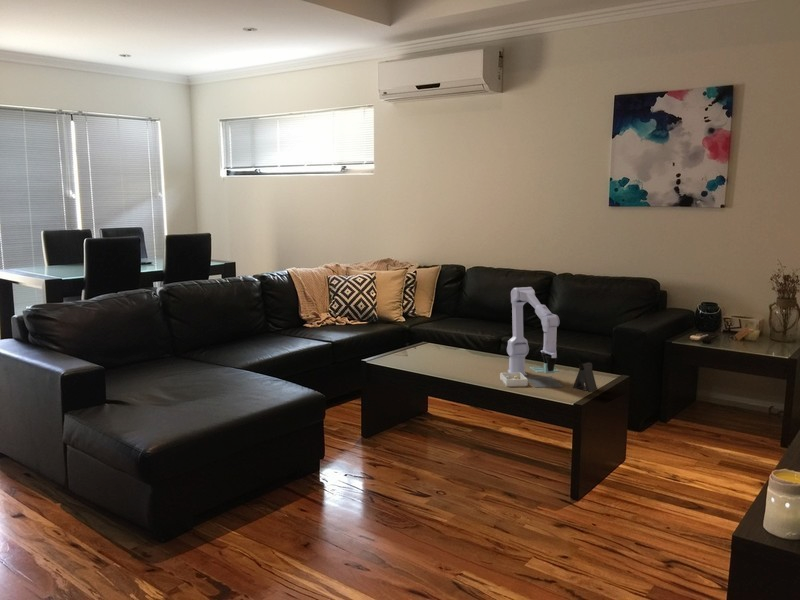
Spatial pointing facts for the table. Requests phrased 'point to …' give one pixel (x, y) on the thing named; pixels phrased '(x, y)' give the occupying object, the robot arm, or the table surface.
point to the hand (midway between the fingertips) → (549, 369)
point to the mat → (543, 382)
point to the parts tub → (513, 379)
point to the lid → (543, 369)
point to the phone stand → (585, 378)
